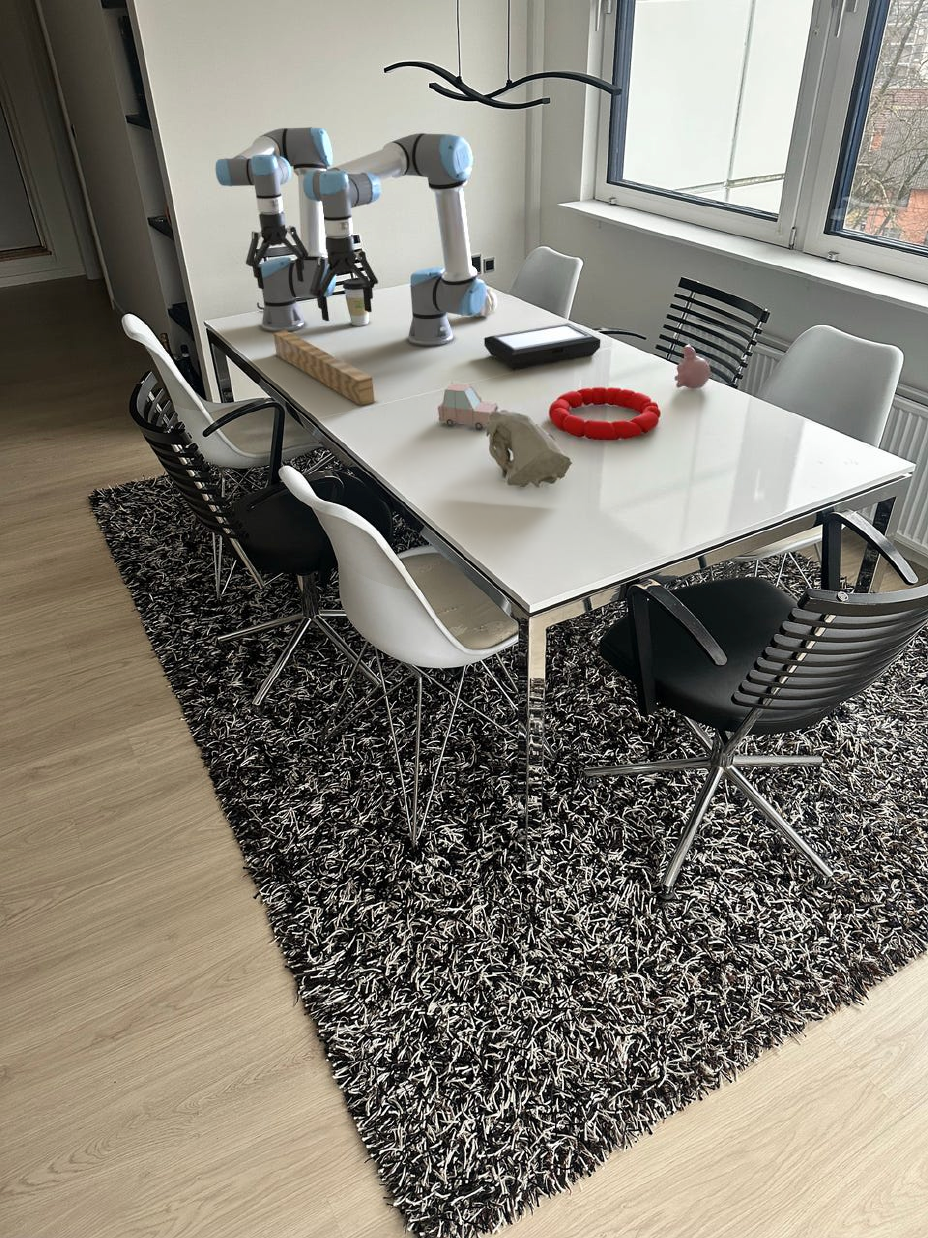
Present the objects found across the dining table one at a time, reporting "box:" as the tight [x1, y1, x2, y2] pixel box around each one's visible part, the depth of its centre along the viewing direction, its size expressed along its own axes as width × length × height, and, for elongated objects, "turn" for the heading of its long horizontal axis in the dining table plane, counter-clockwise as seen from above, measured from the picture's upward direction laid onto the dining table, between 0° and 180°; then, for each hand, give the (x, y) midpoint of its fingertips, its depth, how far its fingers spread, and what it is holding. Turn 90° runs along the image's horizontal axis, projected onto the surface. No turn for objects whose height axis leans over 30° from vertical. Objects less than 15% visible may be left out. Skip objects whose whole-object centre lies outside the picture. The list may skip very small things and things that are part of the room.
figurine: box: [674, 344, 711, 390], centre depth 259 cm, size 9×11×12 cm
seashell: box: [473, 288, 498, 318], centre depth 327 cm, size 10×15×10 cm
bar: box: [272, 330, 375, 407], centre depth 278 cm, size 59×4×7 cm, turn 34°
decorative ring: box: [548, 386, 661, 442], centre depth 242 cm, size 7×30×30 cm
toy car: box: [437, 382, 499, 431], centre depth 243 cm, size 9×15×10 cm, turn 70°
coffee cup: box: [342, 277, 370, 327], centre depth 323 cm, size 10×10×15 cm
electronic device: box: [483, 322, 601, 371], centre depth 289 cm, size 32×6×20 cm
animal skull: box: [485, 409, 573, 489], centre depth 216 cm, size 17×25×20 cm
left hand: (281, 284), depth 282 cm, fingers open, 13 cm apart
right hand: (347, 315), depth 251 cm, fingers open, 13 cm apart
